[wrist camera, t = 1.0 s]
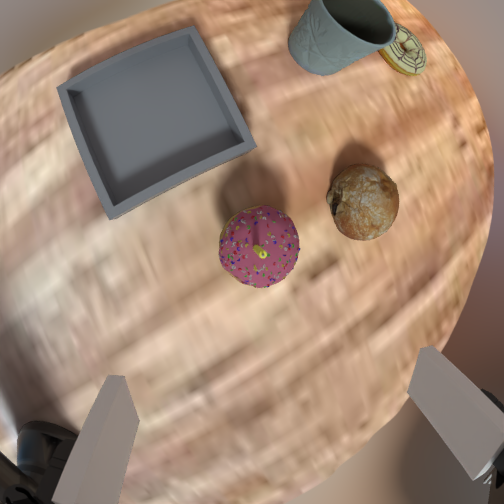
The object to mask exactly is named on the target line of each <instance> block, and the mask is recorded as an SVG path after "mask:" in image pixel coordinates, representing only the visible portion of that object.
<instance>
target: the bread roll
mask: <svg viewBox="0 0 504 504" xmlns="http://www.w3.org/2000/svg"><path fill="white" fill-rule="evenodd" d="M327 203H328V204H330V209H331V213H332V216H333V218H334V222H335V224H336V226H337V228H338V230H339V231H340V232H341V233H342V234H344V235H345V236H347V237H349V238H351V239H354V240H363V241H365V240H371V239H375V238H377V237H379V236H380V235H382V234H383V233H385V232H387V231H388V229H389V228H390V226H391V225H392V223H393V222H394V220H395V218H396V216H397V213H398V208H399V194H398V190H397V185H396V183H394V182H393V181H392V179H391V178H390V177H389V176H387V175H386V174H385V173H384V172H383V171H382V170H381V169H379V168H377V167H375V166H370V165H367V164H355V165H352V166H350V167H348V168H347V169H345V170H343V172H342V173H341V174H339V175H338V176H337V177H336V178H335V180H334V181H333V184H332V190H331V191H329V192H328V194H327Z"/></svg>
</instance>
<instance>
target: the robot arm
mask: <svg viewBox="0 0 504 504" xmlns="http://www.w3.org/2000/svg"><path fill="white" fill-rule="evenodd" d="M407 393H408V394H409V396H410V397H411V398H412V399H413V401H414V402H415V403H416V405H417V406H418V407H419V409H420V410H421V411H422V412H423V414H424V415H425V416H426V417H427V419H428V420H429V422H430V423H431V424H432V426H433V427H434V428H435V430H436V431H437V432H438V434H439V435H440V436H441V437H442V439H443V440H444V442H445V443H446V444H447V446H448V447H449V448H450V450H451V451H452V452H453V454H454V455H455V456H456V458H457V459H458V461H459V462H460V463H461V465H462V466H463V467H464V469H465V470H466V472H467V473H468V474H469V476H470V477H471V479H472V480H475V479H476V478H478V477H479V476H481V475H483V474H484V473H485V472H486V471H487V470H488V469H489V467H490V466H491V465H492V464H493V465H494V466H495V468H494V469H493V470H492V471H491V472H490V474H489V475H488V476H487V477H486V478H485V480H484V482H483V483H484V484H485V483H486V482H487V481H488V480H489V479H490V478H491V480H490V481H489V484H491V486H490V494H489V501H488V504H504V406H503V404H502V403H501V402H500V401H498V399H497V398H496V397H495V396H494V395H493V394H492V393H489V392H488V391H486V390H484V389H481V390H480V389H479V388H477V387H476V386H475V385H474V384H473V383H472V382H471V381H470V380H469V379H468V378H467V377H466V376H465V375H464V374H463V373H462V372H460V371H459V370H458V369H457V368H456V367H455V366H454V365H453V364H452V363H451V362H450V361H449V360H448V359H447V358H446V357H444V356H443V355H442V354H441V353H440V352H439V351H438V350H437V349H436V348H435V347H433V346H432V345H431V346H428V347H424V348H420V351H419V355H418V359H417V362H416V365H415V369H414V372H413V375H412V379H411V382H410V385H409V388H408V391H407ZM139 421H140V420H139V417H138V415H137V412H136V409H135V406H134V404H133V401H132V398H131V395H130V392H129V389H128V386H127V383H126V379H125V376H118V375H108V376H107V378H106V380H105V382H104V384H103V386H102V388H101V390H100V392H99V394H98V396H97V398H96V400H95V402H94V404H93V406H92V408H91V410H90V412H89V414H88V417H87V419H86V421H85V423H84V425H83V427H82V429H81V431H80V434H79V436H76V435H75V434H73V433H72V432H70V431H68V430H66V429H64V428H62V427H60V426H57V425H54V424H51V423H47V422H41V421H34V422H29V423H27V424H25V425H24V426H23V427H22V429H21V431H20V433H19V435H18V439H17V466H16V465H14V464H13V463H12V462H11V461H10V460H9V459H8V458H7V457H6V456H5V455H4V454H3V453H2V452H1V451H0V504H118V502H119V497H120V493H121V489H122V485H123V481H124V477H125V473H126V469H127V465H128V461H129V457H130V454H131V450H132V446H133V443H134V439H135V435H136V432H137V428H138V425H139Z"/></svg>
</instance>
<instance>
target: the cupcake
mask: <svg viewBox="0 0 504 504" xmlns="http://www.w3.org/2000/svg"><path fill="white" fill-rule="evenodd" d="M280 211H281V210H279V211H278V210H276V209H274V208H272V207H270V206H266V205H260V206H255V207H251V208H248V209H245V210H242V211H240V212H238V213H237V214H235V215H234V216H233V217H231V218H230V219H229V220H228V222H227V223H226V225H225V227H224V228H223V230H222V232H221V234H220V241H219V248H220V249H219V258H220V262H221V264H222V266H223V268H224V269H225V270H227V271H228V273H229V274H230V275H231V276H232V277H234V278H235V279H236V280H237V281H239V282H240V283H242V284H245V285H249V286H254V287H255V288H256V287H257V288H262V287H264V288H265V287H267V286H268V287H269V286H270V285H273V284H276V283H278V282H280V281H281V280H283V279H285V277H286V276H287V275H288V274H289V272H290V271H291V270H292V269H293V267H294V265H295V264H296V262H297V258H298V253H299V249H300V248H299V237H298V233H297V230H296V228H295V226H294V223H293V221H292V220H291V219H290V217H288V216H287V215H286V214H284V213H282V211H281V212H280Z"/></svg>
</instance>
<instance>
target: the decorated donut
mask: <svg viewBox="0 0 504 504" xmlns="http://www.w3.org/2000/svg"><path fill="white" fill-rule="evenodd" d="M394 23H395V22H394ZM395 27H396V36H395V40H394V41H393V43H392V44H390V45H388V46H386V47H384V48H382V49H380V50H378V52H379V54H380V55H381V56H382V57H383V58H384V60H385V61H386V62H387V63H388V64H389V65H390V66H391V67H392V68H393V69H394V70H396V71H397V72H399V73H402V74H405V75H409V76H417V75H419V74H420V73H422V72H423V71H424V69H425V66H426V62H427V57H426V54H425V51H424V48H423V47H422V45H421V43H420V42H419V40H418V38H417V37H416V36H415V35H414V34H413V33H411V32H410V31H409V30H408V29H407V28H405V27H403V26H401V25H399V24H397V23H395Z"/></svg>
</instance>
